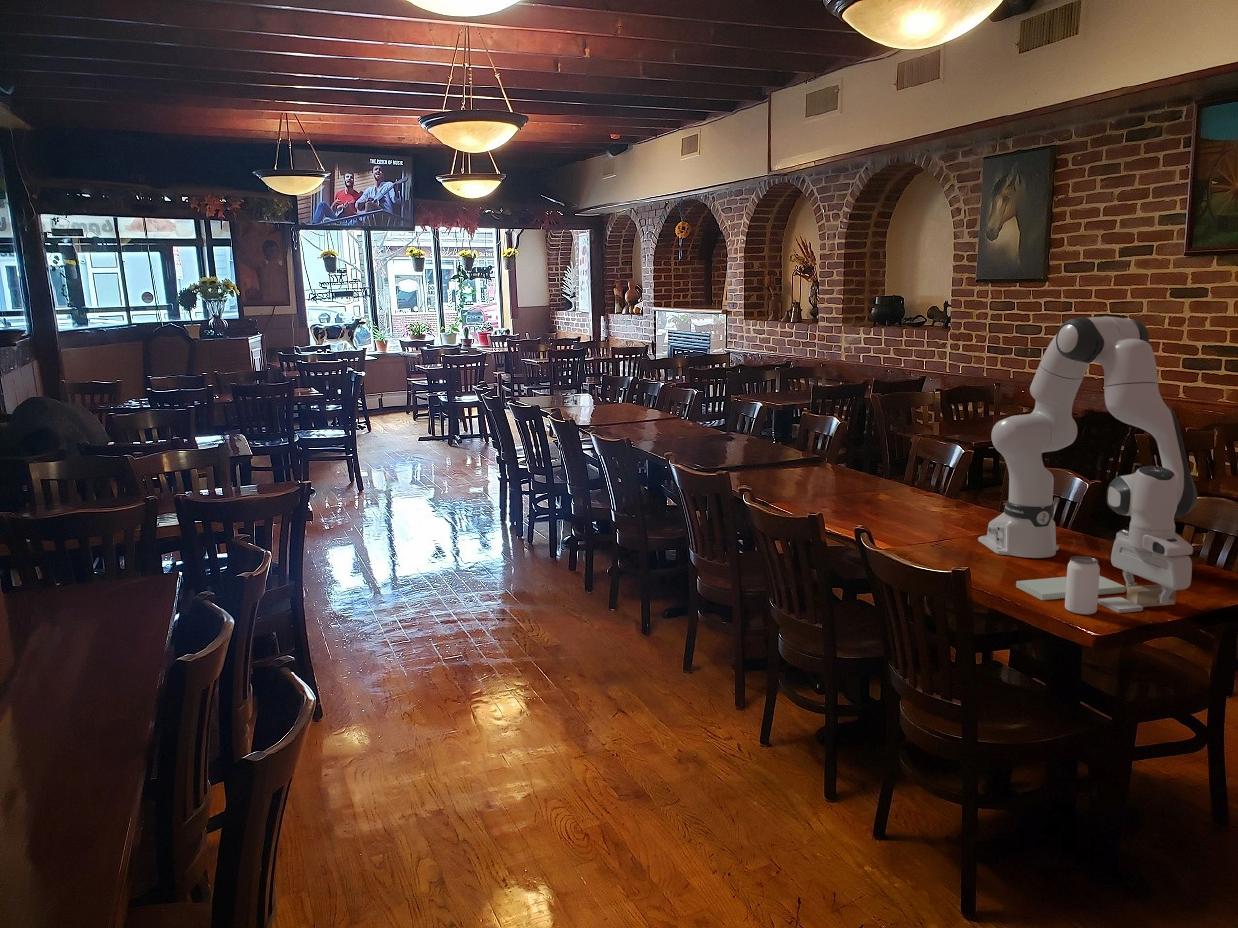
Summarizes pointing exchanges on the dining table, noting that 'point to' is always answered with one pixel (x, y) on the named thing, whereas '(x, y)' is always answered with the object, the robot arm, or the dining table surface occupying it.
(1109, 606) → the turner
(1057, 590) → the rest board
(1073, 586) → the can
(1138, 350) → the robot arm
